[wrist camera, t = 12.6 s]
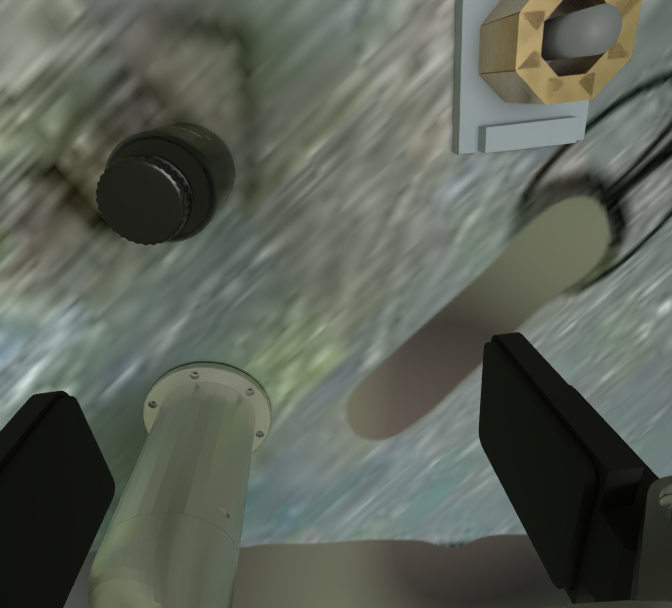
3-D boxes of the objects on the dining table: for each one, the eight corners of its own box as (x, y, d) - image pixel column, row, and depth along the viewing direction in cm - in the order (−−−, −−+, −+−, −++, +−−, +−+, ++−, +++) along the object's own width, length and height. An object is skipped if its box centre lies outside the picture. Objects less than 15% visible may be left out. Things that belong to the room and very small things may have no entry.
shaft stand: (572, 137, 36) (659, 152, 27) (452, 151, 35) (502, 170, 27) (602, -82, 29) (727, -152, 21) (457, -67, 29) (523, -133, 21)
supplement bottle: (204, 105, 32) (158, 112, 22) (251, 188, 35) (231, 231, 25) (127, 148, 33) (46, 175, 23) (179, 225, 36) (130, 282, 25)
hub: (571, 94, 33) (624, 95, 27) (477, 105, 33) (512, 108, 27) (585, -23, 30) (649, -48, 24) (481, -11, 29) (522, -34, 24)
